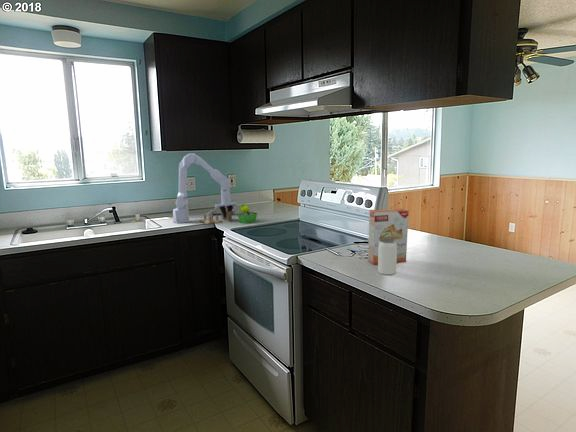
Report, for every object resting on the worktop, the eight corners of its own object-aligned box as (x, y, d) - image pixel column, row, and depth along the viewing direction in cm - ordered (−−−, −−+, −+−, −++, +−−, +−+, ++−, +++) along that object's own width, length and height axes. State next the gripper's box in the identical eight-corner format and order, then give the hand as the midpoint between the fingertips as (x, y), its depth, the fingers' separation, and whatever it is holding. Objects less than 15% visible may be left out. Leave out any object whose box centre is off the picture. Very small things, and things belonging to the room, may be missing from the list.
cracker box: (373, 265, 148) (374, 212, 144) (367, 260, 153) (368, 209, 150) (407, 262, 150) (409, 210, 146) (400, 258, 156) (401, 207, 152)
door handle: (211, 223, 265) (234, 209, 260) (205, 213, 265) (228, 199, 259) (221, 218, 282) (242, 205, 277) (215, 209, 282) (236, 195, 276)
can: (398, 275, 136) (399, 242, 133) (379, 275, 136) (380, 243, 134) (393, 269, 142) (394, 238, 140) (376, 269, 142) (377, 238, 140)
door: (228, 221, 241) (228, 212, 240) (222, 219, 249) (221, 210, 248) (231, 221, 242) (231, 211, 241) (225, 218, 250) (225, 209, 249)
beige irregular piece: (207, 224, 234) (206, 217, 234) (200, 221, 244) (199, 215, 243) (222, 222, 240) (221, 215, 239) (214, 219, 250) (214, 213, 249)
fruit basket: (245, 224, 232) (244, 205, 230) (235, 222, 238) (234, 204, 236) (258, 221, 241) (258, 203, 239) (248, 219, 246) (248, 202, 244)
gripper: (217, 198, 236) (218, 219, 238) (238, 196, 243) (239, 217, 246) (213, 197, 241) (214, 218, 244) (234, 195, 249) (235, 215, 252)
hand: (226, 217), depth 245 cm, fingers closed on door, 2 cm apart
